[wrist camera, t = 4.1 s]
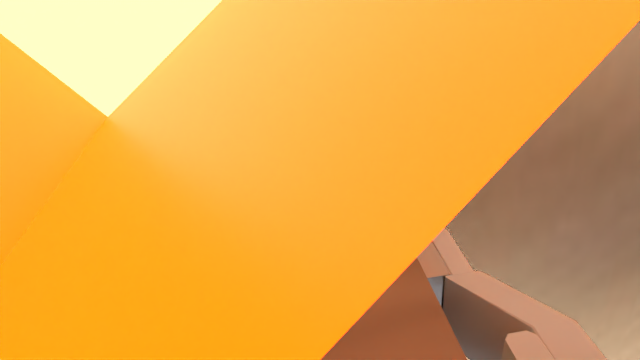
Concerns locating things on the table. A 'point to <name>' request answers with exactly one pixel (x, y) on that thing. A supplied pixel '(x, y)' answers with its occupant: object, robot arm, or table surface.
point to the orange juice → (253, 159)
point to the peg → (401, 325)
